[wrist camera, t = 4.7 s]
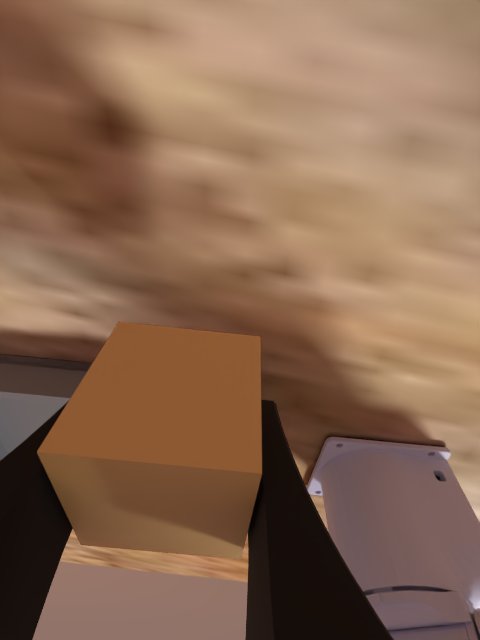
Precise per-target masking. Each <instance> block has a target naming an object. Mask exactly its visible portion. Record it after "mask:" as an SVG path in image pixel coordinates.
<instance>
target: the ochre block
mask: <svg viewBox="0 0 480 640" xmlns="http://www.w3.org/2000/svg"><path fill="white" fill-rule="evenodd" d="M37 454H38V456H39V458H40V460H41V462H42V464H43V466H44V468H45V471H46V473H47V475H48V477H49V479H50V481H51V483H52V485H53V487H54V489H55V492H56V494H57V496H58V498H59V500H60V502H61V504H62V506H63V508H64V510H65V513H66V515H67V517H68V519H69V521H70V523H71V525H72V527H73V529H74V531H75V534H76V536H77V538H78V540H79V542H80V544H81V545H88V546H99V547H110V548H121V549H132V550H142V551H153V552H164V553H175V554H186V555H197V556H208V557H219V558H230V559H241V557H242V553H243V549H244V545H245V541H246V537H247V533H248V529H249V524H250V520H251V516H252V512H253V508H254V504H255V500H256V496H257V492H258V488H259V484H260V480H261V476H262V425H261V339H260V336H251V335H242V334H232V333H222V332H212V331H203V330H193V329H183V328H173V327H164V326H154V325H144V324H135V323H125V322H118V324H117V325H116V327H115V329H114V330H113V332H112V333H111V335H110V337H109V338H108V340H107V341H106V343H105V344H104V346H103V348H102V349H101V351H100V352H99V354H98V356H97V357H96V359H95V360H94V362H93V364H92V365H91V367H90V368H89V370H88V371H87V373H86V375H85V376H84V378H83V379H82V381H81V383H80V384H79V386H78V387H77V389H76V391H75V392H74V394H73V395H72V397H71V398H70V400H69V402H68V403H67V405H66V406H65V408H64V410H63V411H62V413H61V414H60V416H59V418H58V419H57V421H56V422H55V424H54V425H53V427H52V429H51V430H50V432H49V433H48V435H47V437H46V438H45V440H44V441H43V443H42V445H41V446H40V448H39V449H38V451H37Z"/></svg>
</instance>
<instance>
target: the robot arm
mask: <svg viewBox="0 0 480 640" xmlns="http://www.w3.org/2000/svg"><path fill="white" fill-rule="evenodd" d="M68 402H69V401H68ZM68 402H67V403H68ZM67 403H65V404H64V405H63V406H62V407H61V408H60V409H59V410H58V411H57V412H56V413H55V414H54V415H52V416H51V417H50V418H49V419H48V420H47V421H46V422H45V423H44V424H42V425H41V426H40V427H39V428H38V429H37V430H36V431H35V432H33V433H32V434H31V435H30V436H29V437H28V438H27V439H26V440H24V441H23V442H22V443H21V444H20V445H19V446H17V447H16V448H15V449H14V450H13V451H11V452H10V453H9V454H8V455H6V456H5V457H4V458H3V459H2V460H0V640H32V638H33V636H34V632H35V629H36V626H37V623H38V620H39V618H40V615H41V612H42V609H43V606H44V603H45V600H46V597H47V594H48V592H49V589H50V586H51V583H52V580H53V578H54V575H55V572H56V570H57V566H58V564H59V561H60V559H61V556H62V553H63V550H64V548H65V545H66V543H67V541H68V538H69V536H70V533H71V531H72V529H73V527H72V525H71V523H70V521H69V519H68V517H67V515H66V513H65V510H64V508H63V506H62V504H61V502H60V500H59V498H58V496H57V494H56V492H55V489H54V487H53V485H52V483H51V481H50V479H49V477H48V475H47V473H46V471H45V468H44V466H43V464H42V462H41V460H40V458H39V456H38V454H37V451H38V449H39V448H40V446H41V445H42V443H43V441H44V440H45V438H46V437H47V435H48V433H49V432H50V430H51V429H52V427H53V425H54V424H55V422H56V421H57V419H58V418H59V416H60V414H61V413H62V411H63V410H64V408H65V406H66V405H67ZM261 425H262V476H261V480H260V484H259V488H258V492H257V496H256V500H255V504H254V508H253V512H252V516H251V520H250V524H249V529H248V548H249V567H248V595H247V620H246V640H480V523H479V521H478V519H477V517H476V515H475V513H474V511H473V509H472V507H471V505H470V504H469V502H468V500H467V498H466V496H465V494H464V492H463V490H462V488H461V486H460V484H459V483H458V481H457V479H456V477H455V475H454V473H453V471H452V469H451V467H450V465H449V464H448V462H447V459H448V458H449V457H450V456H451V452H450V450H449V449H448V448H445V447H435V446H425V445H414V444H404V443H394V442H383V441H373V440H362V439H352V438H341V437H329V438H327V439H326V440H325V443H324V445H323V448H322V450H321V453H320V455H319V458H318V460H317V463H316V465H315V467H314V470H313V472H312V475H311V477H310V480H309V482H308V485H307V487H306V486H305V484H304V482H303V479H302V477H301V475H300V472H299V470H298V468H297V465H296V463H295V460H294V458H293V455H292V453H291V450H290V448H289V445H288V442H287V439H286V437H285V434H284V431H283V428H282V425H281V421H280V418H279V414H278V411H277V406H276V403H275V402H274V401H268V400H261ZM309 494H312V495H323V500H324V506H325V512H326V518H327V524H328V531H329V532H328V531H327V529H326V527H325V525H324V523H323V521H322V519H321V517H320V515H319V513H318V511H317V509H316V507H315V505H314V503H313V501H312V499H311V497H310V495H309Z"/></svg>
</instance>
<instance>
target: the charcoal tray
mask: <svg viewBox="0 0 480 640" xmlns="http://www.w3.org/2000/svg"><path fill="white" fill-rule="evenodd" d="M92 364H93V363H85V362H75V361H65V360H54V359H44V358H34V357H24V356H13V355H3V354H0V460H2V459H3V458H4V457H5V456H6V455H8V454H9V453H10V452H11V451H13V450H14V449H15V448H16V447H17V446H19V445H20V444H21V443H22V442H23V441H24V440H26V439H27V438H28V437H29V436H30V435H31V434H32V433H33V432H35V431H36V430H37V429H38V428H39V427H40V426H41V425H42V424H44V423H45V422H46V421H47V420H48V419H49V418H50V417H51V416H52V415H54V414H55V413H56V412H57V411H58V410H59V409H60V408H61V407H62V406H63V405H64V404H65V403H67V402H68V401H69V400H70V398H71V397H72V395H73V394H74V392H75V391H76V389H77V387H78V386H79V384H80V383H81V381H82V379H83V378H84V376H85V375H86V373H87V371H88V370H89V368H90V367H91V365H92Z"/></svg>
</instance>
